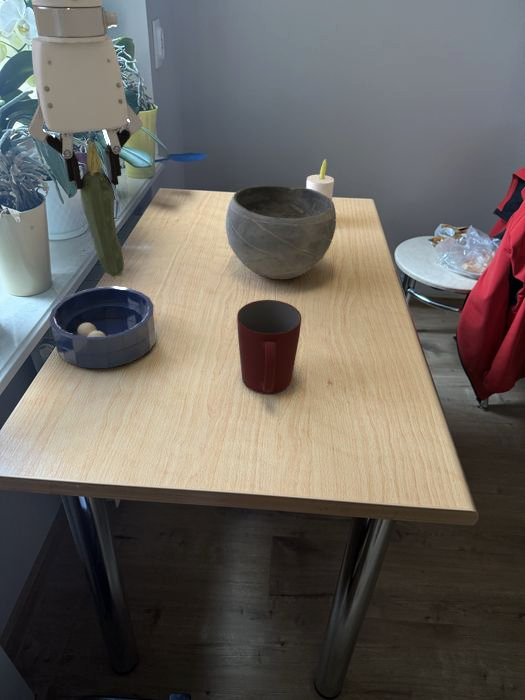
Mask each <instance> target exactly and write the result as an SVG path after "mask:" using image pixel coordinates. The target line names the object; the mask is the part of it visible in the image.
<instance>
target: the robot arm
mask: <svg viewBox="0 0 525 700" xmlns="http://www.w3.org/2000/svg"><path fill="white" fill-rule="evenodd" d="M30 1H31V5H32V12H33V17H34V20H35V21H34V22H35V27H36V32H37V37H32V38H31V59H32V60H31V62H32V70H33V78H34V84H35V91H36V97H37V107H36V109H35V112H34V114H33V116H32V119H31V121H30V123H29V126H28V128H27V131H28V134H29V136H31V137H33V138H34V139H36V140H38V141H39V142H42V143H45V144H46V145H48V146H49V147H51V148H52V149H53V150H54V151H56V152H58V153H59V154H60V155H61V156H63V160H64V165H65V170H66V176H67V180H68V182H70V183H71V182H73V184H74V186H75V188H76V190H80V189H81V188H83V186H82V181H81V179H82V175H81V170H80V164H79V158H78V157H77V156H76V154H75V151H74V133H86V132H96V131H97V132H99V131H102V132H103V135H104V139H105V141H106V144H107V145H105V146H106V147H105V150H104V157H105V165H106V171H107V177H108V178H109V180H110V181H111V183H112V185H114V186H119V177H122V168H121V160H120V153H121V152H122V149H123V147H124V146H125V145H126V144H127V143H128V141H129V140H130V138H131V136H134V134H136V133H137V132H138V131H139V130H140V129H141V128H142V127H143V121H142V120H141V119H140V118H139V116H138V115H137V114H136V112H135V110H134V109H133V108H132V107H131V106H130V105H129V103H128V102H127V98H126V93H125V87H124V82H123V81H124V80H123V76H122V72H121V66H120V62H119V58H118V54H117V51H116V48H115V44H114V41H113V39H112V38H111V37H110V36H107V34H108V30H109V29H110V28H112V27H117V26H118V18H117V14H116V13H115V12H109V11H107V10H106V9H105V7H104V6H103V0H30ZM44 126H45V127H47V130H49V131H50V132H49V131H47V130H45V129H44ZM117 129H118V130H117ZM116 130H117V131H116ZM51 132H53V133H57V134H59V137H58V136H56V135H54V134H53V133H51Z"/></svg>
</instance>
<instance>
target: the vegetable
mask: <svg viewBox="0 0 525 700" xmlns="http://www.w3.org/2000/svg"><path fill="white" fill-rule="evenodd" d="M86 142H87V143H88V145H87V148H86V168H87V171H86V172H85V173H84V174H83V175H82V176H81V181H82V186H83V188H81V189H79V190H80V191H79V192H80V200H81V204H82V209H83V213H84V217H85V219H86V222H87V225H88V228H89V231H90V235H91V238H92V241H93V246H94V250H95V253H96V256H97V258H98V260H99V263H100V264H101V268H102V270H104V272H105V273H106V274H108V275H110V276H111V278H113V279H116V278H117V277H122V276H123V271H124V267H125V266H124V265H125V261H124V256H123V249H122V246H121V243H120V240H119V237H118V233H117V228H116V219H115V192H114V187H113V184H112V182H111V181H110V180H109V178H108V175H107V174H105V173H104V172H103V171H101V170H102V169H103V162H102V159H101V157H100V154H99V152H98V149H97V146H96V144H95V143H94V142H93V140H90V139H89V138H88V139H86Z"/></svg>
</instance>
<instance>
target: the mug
mask: <svg viewBox="0 0 525 700" xmlns="http://www.w3.org/2000/svg"><path fill="white" fill-rule="evenodd" d="M236 316H237V317H236V324H237V339H238V351H239V360H240V371H241V379H242V382H243V385H245V387H246V388H248V389H249V390H251V391H252V392H255V393H258V394H264V395H271V394H277V393H280V392H283V391H285V390H286V389H287V388H288V387H289V386H290V385H291V383H292V378H293V374H294V368H295V364H296V359H297V358H296V357H297V352H298V346H299V342H300V333H301V326H302V314H301V311H299V310H298V308H296V307H295V306H294V305H292V304H290V303H287V302H284V301H281V300H276V299H261V300H254V301H251V302H249V303H246V304H245V305H243V306H242V307H241V308H240V309H239V310H238V312H237V315H236Z"/></svg>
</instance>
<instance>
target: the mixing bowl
mask: <svg viewBox="0 0 525 700" xmlns="http://www.w3.org/2000/svg"><path fill="white" fill-rule="evenodd" d="M48 320H49V325H50V328H51V332H52V336H53V340H54V344H55V348H56V352H57V355H58V356H60V357H61V358H62V359H63V361H65V362H67V363H69V364H71V365H73V366H76V367H81V368H87V369H88V368H89V369H109V368H113V367H118V366H123V365H126V364H129V363H131V362H134V361H135V360H137V359H140V358H142V357H143V356H144V355H145V354H147V353H148V352H149V351H150V350H151V349H152V348H153V346H154V345H155V343H156V341H157V332H158V331H157V324H156V323H157V322H156V314H155V305H154V304H153V301H152V300H151V298H150V297H149V296H148V295H146V294H145V293H143V292H142V291H139V290H136V289H133V288H130V287H123V286H98V287H92V288H87V289H84V290H80V291H78V292H74V293H71V294H70V295H68V296H66V297H64V298H62V299H61V300H60V301H58V302H57V303H56V305H55V306H53V308H52V309H51V311H50V314H49V316H48ZM83 323H91V324H93V325H94V326H95V327H96V330H97V331H101V332H103V333H104V334H105V335H106V336H101V337H85V336H78V335H77V329H78V327H79V326H80V325H81V324H83Z"/></svg>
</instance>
